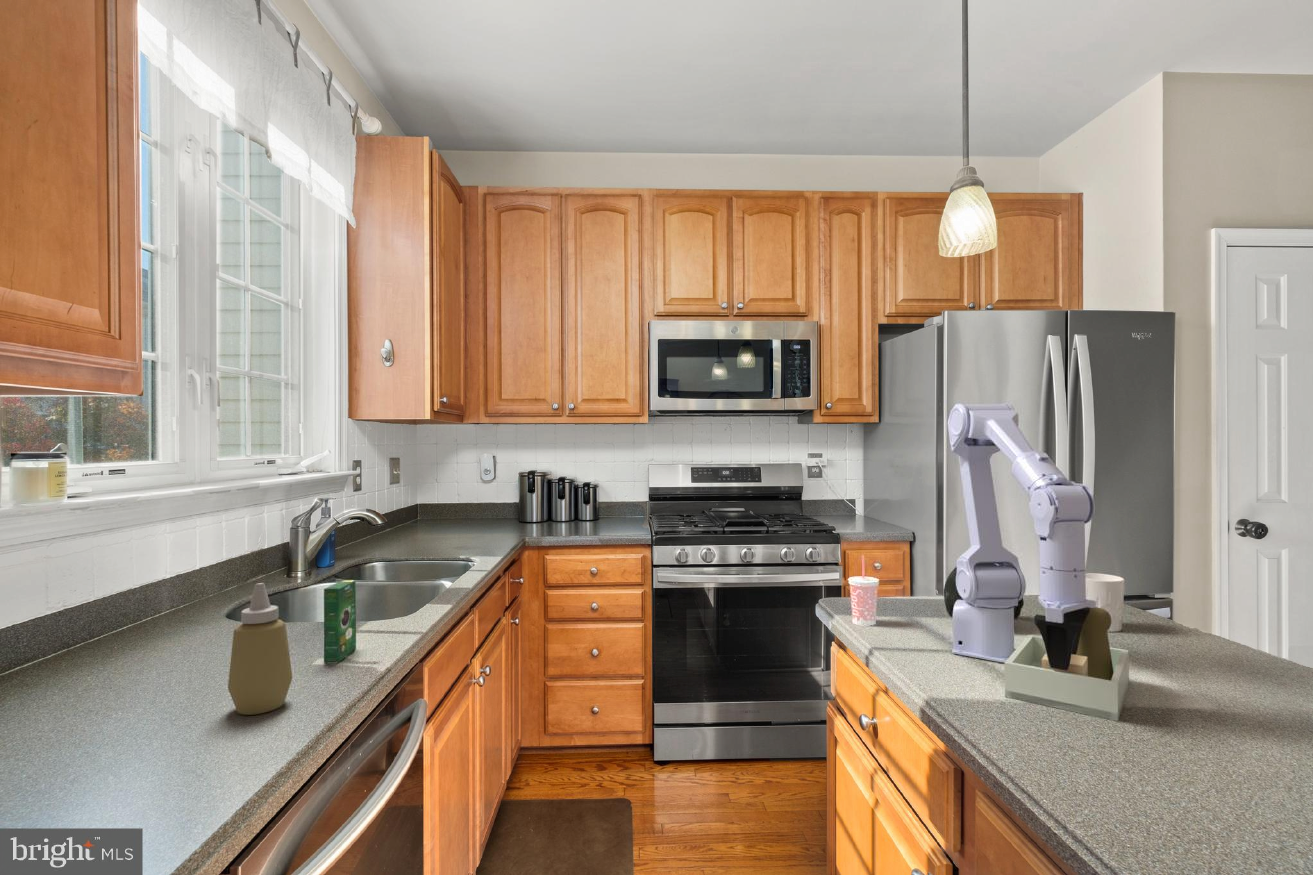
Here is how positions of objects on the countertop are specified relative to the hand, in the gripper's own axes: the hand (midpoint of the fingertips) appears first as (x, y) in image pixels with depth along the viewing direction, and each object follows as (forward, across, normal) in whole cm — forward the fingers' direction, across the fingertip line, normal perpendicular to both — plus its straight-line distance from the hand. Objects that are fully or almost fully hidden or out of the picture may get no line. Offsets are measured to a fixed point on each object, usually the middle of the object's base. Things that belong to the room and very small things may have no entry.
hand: (1063, 661), depth 95 cm
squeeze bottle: (+6, -74, +90) cm, 117 cm away
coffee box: (+6, -56, +104) cm, 118 cm away
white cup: (+6, +46, 0) cm, 46 cm away
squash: (+6, +35, +19) cm, 40 cm away
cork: (+5, +8, -2) cm, 10 cm away
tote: (+5, +4, 0) cm, 7 cm away
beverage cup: (+6, +21, +38) cm, 44 cm away
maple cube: (+4, 0, 0) cm, 4 cm away
